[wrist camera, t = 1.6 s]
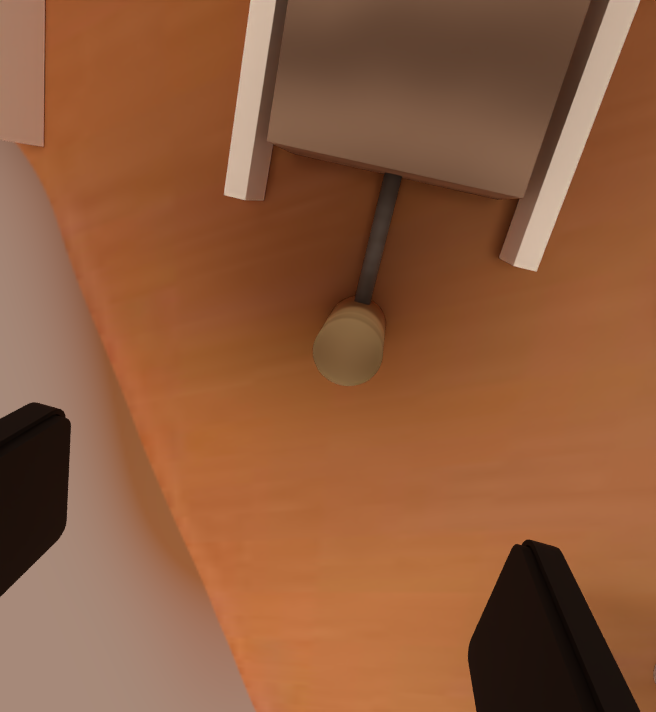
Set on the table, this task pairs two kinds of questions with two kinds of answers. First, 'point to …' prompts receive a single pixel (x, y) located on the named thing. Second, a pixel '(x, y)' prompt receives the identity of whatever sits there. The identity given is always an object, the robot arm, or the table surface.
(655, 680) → the computer monitor
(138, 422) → the table surface
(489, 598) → the robot arm
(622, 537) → the table surface
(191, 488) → the table surface
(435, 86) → the brown handled block
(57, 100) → the table surface
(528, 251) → the lane organiser
